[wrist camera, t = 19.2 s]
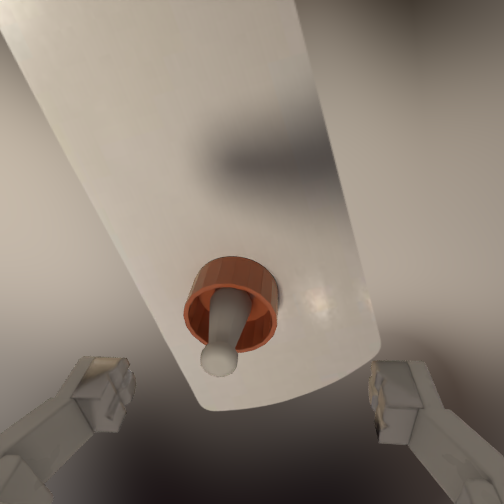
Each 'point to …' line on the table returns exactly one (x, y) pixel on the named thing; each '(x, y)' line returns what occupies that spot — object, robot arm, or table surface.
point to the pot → (240, 277)
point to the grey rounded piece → (225, 330)
